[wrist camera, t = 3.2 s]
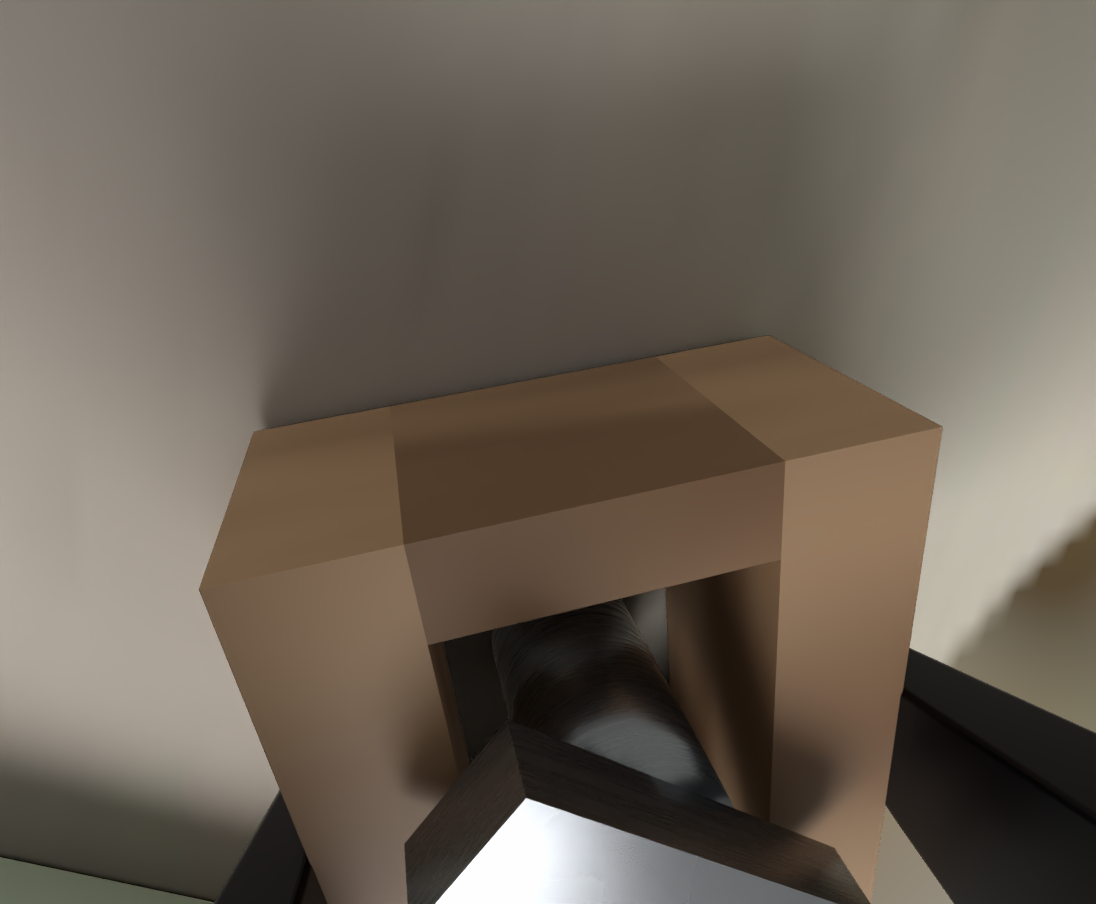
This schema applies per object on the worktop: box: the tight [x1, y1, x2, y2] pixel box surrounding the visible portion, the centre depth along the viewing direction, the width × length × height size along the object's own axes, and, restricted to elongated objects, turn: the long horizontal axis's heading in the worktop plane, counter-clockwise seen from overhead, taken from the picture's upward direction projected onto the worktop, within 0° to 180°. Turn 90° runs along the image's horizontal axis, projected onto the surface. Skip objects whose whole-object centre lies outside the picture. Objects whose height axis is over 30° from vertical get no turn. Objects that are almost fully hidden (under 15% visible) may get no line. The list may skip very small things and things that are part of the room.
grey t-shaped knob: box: [404, 598, 871, 904], centre depth 8 cm, size 5×2×4 cm, turn 53°
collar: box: [199, 335, 942, 904], centre depth 9 cm, size 8×6×3 cm
